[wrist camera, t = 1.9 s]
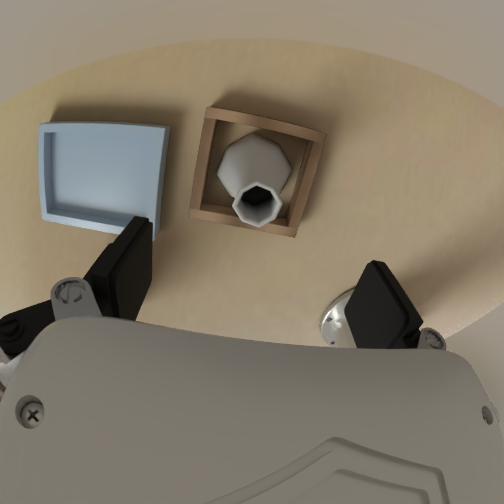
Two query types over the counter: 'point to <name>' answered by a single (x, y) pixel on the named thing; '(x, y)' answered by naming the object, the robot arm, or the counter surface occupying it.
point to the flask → (254, 178)
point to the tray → (101, 173)
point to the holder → (303, 182)
